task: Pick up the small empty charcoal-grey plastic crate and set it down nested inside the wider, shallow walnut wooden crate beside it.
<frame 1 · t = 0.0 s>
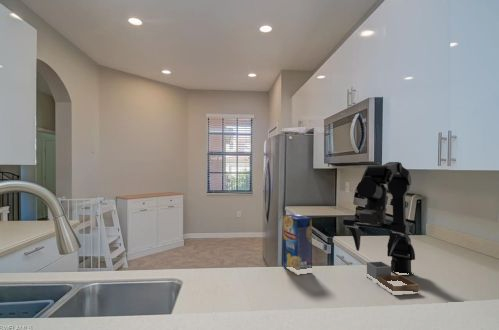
hand: (372, 253, 89), 15 cm above the counter, tool pointing down, fingers open, 9 cm apart
grey plastic crate: (378, 280, 108), on the counter
walnut crate: (397, 289, 100), on the counter
blue cardboard box: (297, 270, 119), on the counter
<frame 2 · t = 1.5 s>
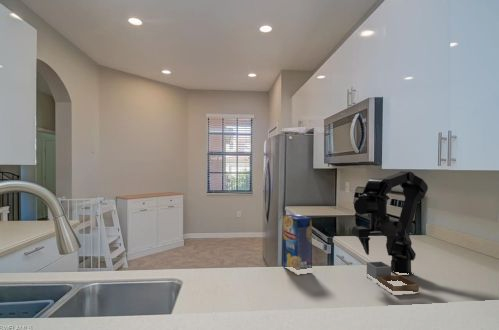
hand: (378, 253, 108), 10 cm above the counter, tool pointing down, fingers open, 9 cm apart
nothing on the counter moved.
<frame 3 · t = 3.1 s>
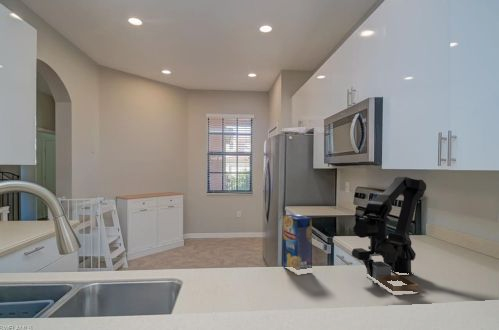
hand: (378, 276, 108), 2 cm above the counter, tool pointing down, fingers closed on grey plastic crate, 6 cm apart
grey plastic crate: (378, 280, 108), on the counter, touching gripper
everything else where it was.
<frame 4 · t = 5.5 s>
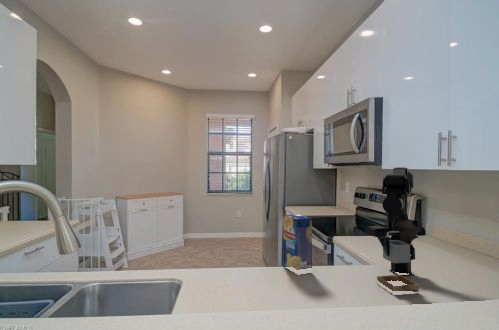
hand: (396, 255, 100), 11 cm above the counter, tool pointing down, fingers closed on grey plastic crate, 6 cm apart
grey plastic crate: (396, 260, 100), point 10 cm above the counter, touching gripper
everything else where it was.
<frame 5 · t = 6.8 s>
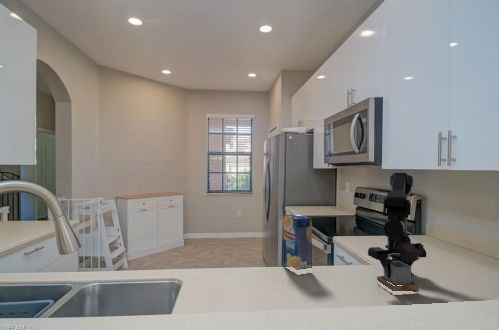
hand: (397, 277, 100), 4 cm above the counter, tool pointing down, fingers closed on grey plastic crate, 6 cm apart
grey plastic crate: (397, 281, 100), point 3 cm above the counter, touching gripper
everything else where it was.
when the fingers open (4 cm above the counter, at t = 7.7 s): grey plastic crate drops 2 cm, resting on walnut crate.
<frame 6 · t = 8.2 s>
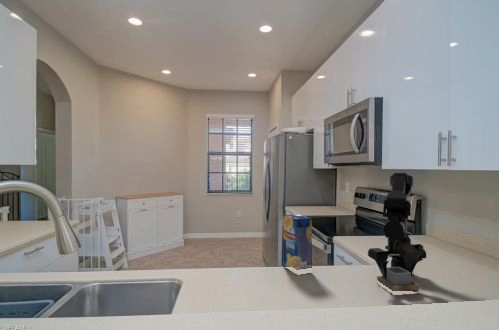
hand: (397, 278, 100), 4 cm above the counter, tool pointing down, fingers open, 9 cm apart
grey plastic crate: (397, 287, 100), resting on walnut crate
everything else where it was.
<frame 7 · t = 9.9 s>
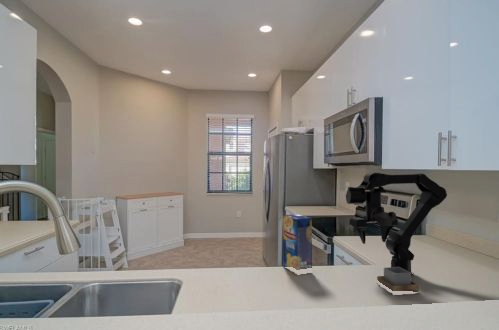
hand: (373, 242, 116), 12 cm above the counter, tool pointing down, fingers open, 9 cm apart
nothing on the counter moved.
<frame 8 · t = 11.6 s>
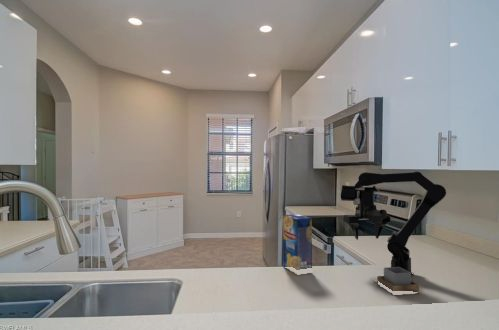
hand: (367, 238, 122), 12 cm above the counter, tool pointing down, fingers open, 9 cm apart
nothing on the counter moved.
at the end: grey plastic crate 0.0 cm off-centre on the walnut crate, point 0.5 cm above the walnut crate's base; grey plastic crate tilted 0°; the gripper is holding nothing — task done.
